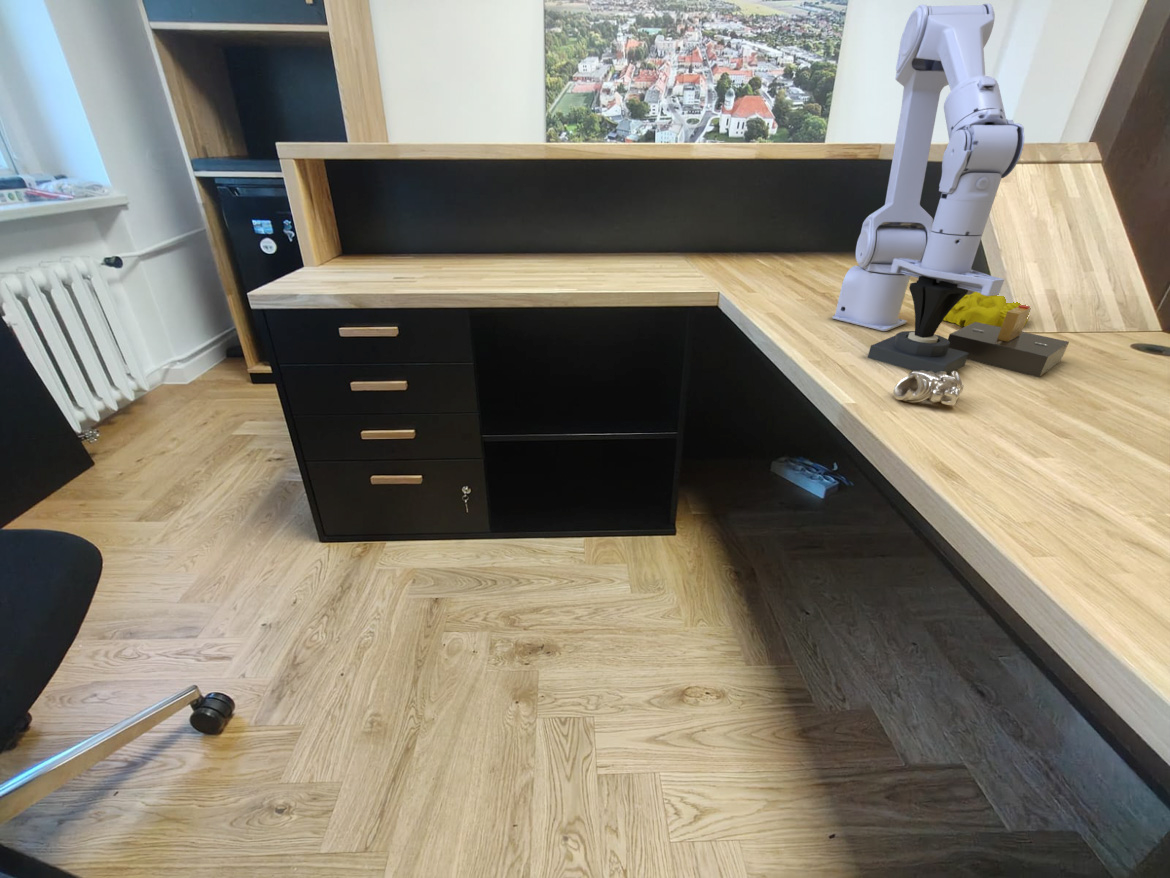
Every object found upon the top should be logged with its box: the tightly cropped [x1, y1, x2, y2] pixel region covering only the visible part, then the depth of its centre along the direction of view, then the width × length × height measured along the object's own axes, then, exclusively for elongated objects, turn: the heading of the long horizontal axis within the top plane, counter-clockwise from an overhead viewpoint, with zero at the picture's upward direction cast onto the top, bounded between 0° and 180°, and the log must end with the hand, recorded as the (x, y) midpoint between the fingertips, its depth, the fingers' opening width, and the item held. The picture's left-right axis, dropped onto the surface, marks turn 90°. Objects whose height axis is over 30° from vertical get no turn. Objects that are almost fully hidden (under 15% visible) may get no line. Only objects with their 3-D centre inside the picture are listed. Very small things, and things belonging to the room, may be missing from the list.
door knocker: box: [943, 291, 1030, 328], centre depth 99 cm, size 16×16×4 cm
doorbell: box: [867, 330, 969, 376], centre depth 78 cm, size 10×8×4 cm
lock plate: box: [947, 322, 1070, 378], centre depth 80 cm, size 12×10×3 cm
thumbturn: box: [997, 304, 1032, 342], centre depth 78 cm, size 5×1×4 cm, turn 129°
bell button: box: [908, 332, 938, 343], centre depth 77 cm, size 4×4×2 cm
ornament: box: [892, 370, 964, 406], centre depth 66 cm, size 8×7×4 cm
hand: (923, 335), depth 77 cm, fingers closed, pressing on bell button
